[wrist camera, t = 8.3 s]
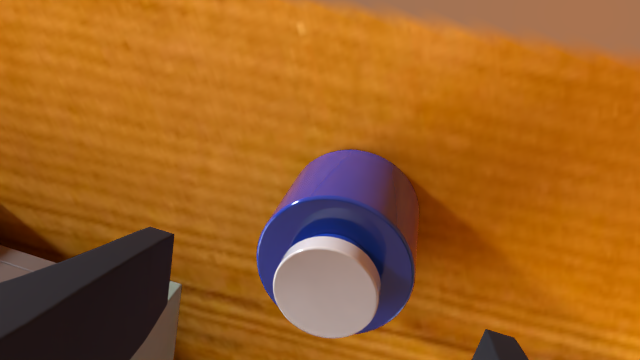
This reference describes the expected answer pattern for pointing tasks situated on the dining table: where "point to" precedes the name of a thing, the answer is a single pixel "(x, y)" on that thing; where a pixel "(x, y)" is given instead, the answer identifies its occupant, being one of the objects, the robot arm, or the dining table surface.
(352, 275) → the spice bottle
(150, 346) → the drawer
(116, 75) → the dining table surface
